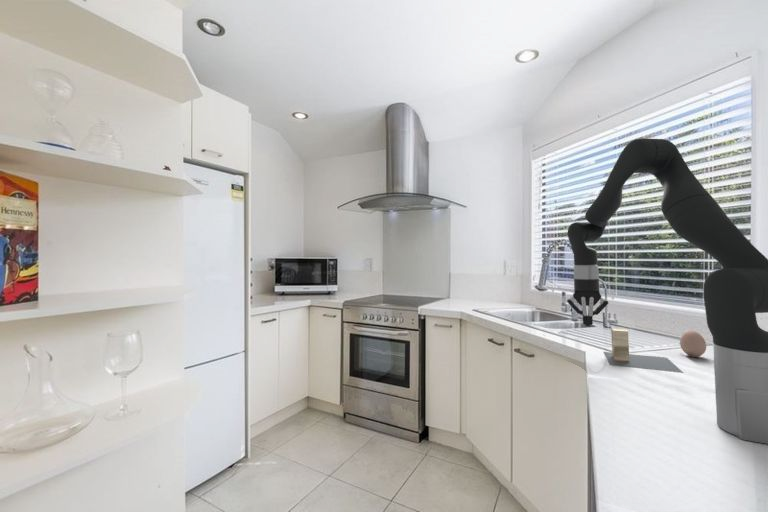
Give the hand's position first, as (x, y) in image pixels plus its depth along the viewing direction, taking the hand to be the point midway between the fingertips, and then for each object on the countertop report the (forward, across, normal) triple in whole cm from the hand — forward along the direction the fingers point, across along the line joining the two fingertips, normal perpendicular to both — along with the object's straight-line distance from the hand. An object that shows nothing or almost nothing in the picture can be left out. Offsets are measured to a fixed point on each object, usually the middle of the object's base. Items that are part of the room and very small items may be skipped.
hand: (588, 326), depth 112 cm
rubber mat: (+11, +14, 0) cm, 18 cm away
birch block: (+11, +9, 0) cm, 14 cm away
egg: (+12, +32, +16) cm, 38 cm away
